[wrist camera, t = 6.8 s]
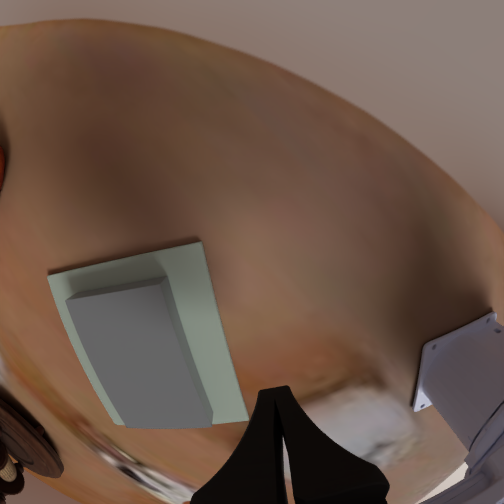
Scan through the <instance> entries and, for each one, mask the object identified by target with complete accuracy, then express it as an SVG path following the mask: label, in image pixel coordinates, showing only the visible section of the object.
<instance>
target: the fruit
mask: <svg viewBox="0 0 504 504" xmlns="http://www.w3.org/2000/svg"><path fill="white" fill-rule="evenodd" d="M4 167H5V158H4V152H3V149H2V147H1V146H0V190H1V187H2V183H3V177H4Z"/></svg>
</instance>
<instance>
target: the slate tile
mask: <svg viewBox="0 0 504 504" xmlns="http://www.w3.org/2000/svg"><path fill="white" fill-rule="evenodd" d="M65 302H66V305H67V308H68V311H69V313H70V316H71V319H72V321H73V324H74V326H75V329H76V331H77V334H78V336H79V338H80V341H81V343H82V345H83V348H84V350H85V352H86V354H87V356H88V359H89V361H90V363H91V365H92V367H93V369H94V371H95V373H96V375H97V377H98V379H99V381H100V383H101V385H102V386H103V388H104V390H105V392H106V394H107V396H108V397H109V399H110V401H111V403H112V404H113V406H114V408H115V409H116V411H117V413H118V414H119V416H120V418H121V419H122V421H123V422H124V424H125V426H126V427H127V428H144V429H184V428H204V427H212V421H213V413H214V412H213V410H212V407H211V405H210V402H209V400H208V397H207V395H206V392H205V389H204V387H203V384H202V381H201V379H200V376H199V373H198V370H197V368H196V365H195V362H194V359H193V356H192V353H191V350H190V348H189V345H188V342H187V339H186V335H185V332H184V329H183V326H182V323H181V320H180V316H179V313H178V310H177V307H176V303H175V300H174V296H173V293H172V289H171V286H170V282H169V279H168V276H163V277H158V278H152V279H147V280H141V281H136V282H131V283H125V284H120V285H114V286H109V287H103V288H98V289H92V290H87V291H81V292H77V293H75V294H74V295H72V296H71V297H69V298H68V299H66V300H65Z"/></svg>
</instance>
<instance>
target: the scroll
mask: <svg viewBox="0 0 504 504" xmlns="http://www.w3.org/2000/svg"><path fill="white" fill-rule="evenodd" d="M43 433H44V428H43V427H42V426H39V427H37V428H36V429H34V428H33V427H32V426H31V425H30V424H29V423H28V422H27V421H26V420H25V419H24V418H23V417H22V416H20V415H19V414H18V413H17V412H16V411H15V410H14V409H12V408H11V407H10V406H9V405H8V404H6V403H5V402H4V401H2V400H1V399H0V504H6V502H5V500H6V499H5V496H6V495H15V494H18V493H20V492H21V491H22V490H23V488H24V477H23V475H22V473H23V472H24V469H23V467H26V468H28V469H30V470H31V471H33V472H35V473H37V474H40V475H42V476H46V477H51V478H59V477H60V476H61V474H62V473H63V471H64V466H63V463H62V461H61V460H60V458H59V456H58V455H57V454H56V452H55V451H54V450H53V448H52V447H51V446H50V445H49V444H48V443H47V442H46V440H45V439H44V438H43V437H42V436H43ZM8 454H9V455H11V456H12V457H13V458H14V459H15V460H16V461H18V463H13V462H12V460H11V458H10V457H9V455H8Z"/></svg>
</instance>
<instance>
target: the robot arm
mask: <svg viewBox="0 0 504 504" xmlns="http://www.w3.org/2000/svg"><path fill="white" fill-rule="evenodd" d="M496 317H497V313H496V312H494V311H493V312H491V313H489V314H487V315H485V316H483V317H481V318H480V319H478V320H476V321H474V322H472V323H470V324H468V325H465V326H463V327H461V328H459V329H457V330H455V331H453V332H451V333H448V334H446V335H444V336H441V337H439V338H437V339H434V340H432V341H430V342H428V343H426V344H425V345H424V347H423V350H422V358H421V365H420V371H419V377H418V383H417V388H416V393H415V398H414V403H413V407H412V409H413V411H415V412H416V411H419V410H421V409H423V408H425V407H427V406H430V405H432V404H433V406H434V407H435V408H436V409H437V411H438V412H439V413H440V414H441V416H442V417H443V418H444V420H445V421H446V422H447V423H448V425H449V426H450V427H451V429H452V430H453V431H454V433H455V434H456V435H457V437H458V438H459V439H460V441H461V442H462V443H463V445H464V446H465V447H466V449H467V450H468V451H469V454H468V455H467V457H466V458H465V459H464V461H465V462H466V464H467V465H468V469H467V471H466V473H465V477H464V479H463V480H461V481H460V482H458V483H457V484H455V485H453V486H451V487H450V488H448V489H446V490H444V491H443V492H441V493H439V494H437V495H435V496H433V497H431V498H430V499H427V500H425V501H423V502H421V503H419V504H504V326H502V325H501V324H499V323H497V322H496ZM433 345H434V346H433ZM283 438H284V441H285V445H286V449H287V452H288V458H289V465H290V472H291V480H292V488H293V496H294V500H295V504H387V501H386V499H385V498H386V495H387V493H388V491H389V488H390V485H389V482H388V480H387V479H386V477H385V476H384V474H383V473H382V472H381V471H380V469H379V468H378V467H377V466H376V465H374V464H372V463H369V462H367V461H365V460H363V459H361V458H359V457H357V456H355V455H354V454H352V453H350V452H349V451H347V450H346V449H344V448H343V447H341V446H340V445H338V444H337V443H335V442H334V441H333V440H332V439H330V438H329V437H328V436H327V435H326V434H325V433H323V432H322V431H321V430H320V429H319V428H318V427H317V426H316V425H315V424H314V423H313V421H312V420H311V419H310V418H309V417H308V416H307V415H306V413H305V412H304V411H303V409H302V408H301V407H300V405H299V404H298V402H297V401H296V399H295V398H294V396H293V394H292V392H291V390H290V387H289V386H287V385H286V386H280V387H275V388H269V389H263V390H260V391H259V392H258V398H257V402H256V406H255V409H254V412H253V414H252V417H251V420H250V422H249V425H248V427H247V429H246V431H245V433H244V435H243V437H242V439H241V441H240V442H239V444H238V446H237V447H236V449H235V450H234V452H233V453H232V455H231V456H230V458H229V459H228V460H227V462H226V463H225V464H224V465H223V467H222V468H221V469H220V470H219V471H218V472H217V473H216V474H215V475H214V476H213V477H212V478H211V479H210V480H209V481H208V482H207V483H206V484H205V485H204V486H203V487H201V488H200V489H199V490H198V491H197V492H195V493H194V494H193V496H192V498H191V501H190V504H288V499H287V493H286V486H285V479H284V461H283Z"/></svg>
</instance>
